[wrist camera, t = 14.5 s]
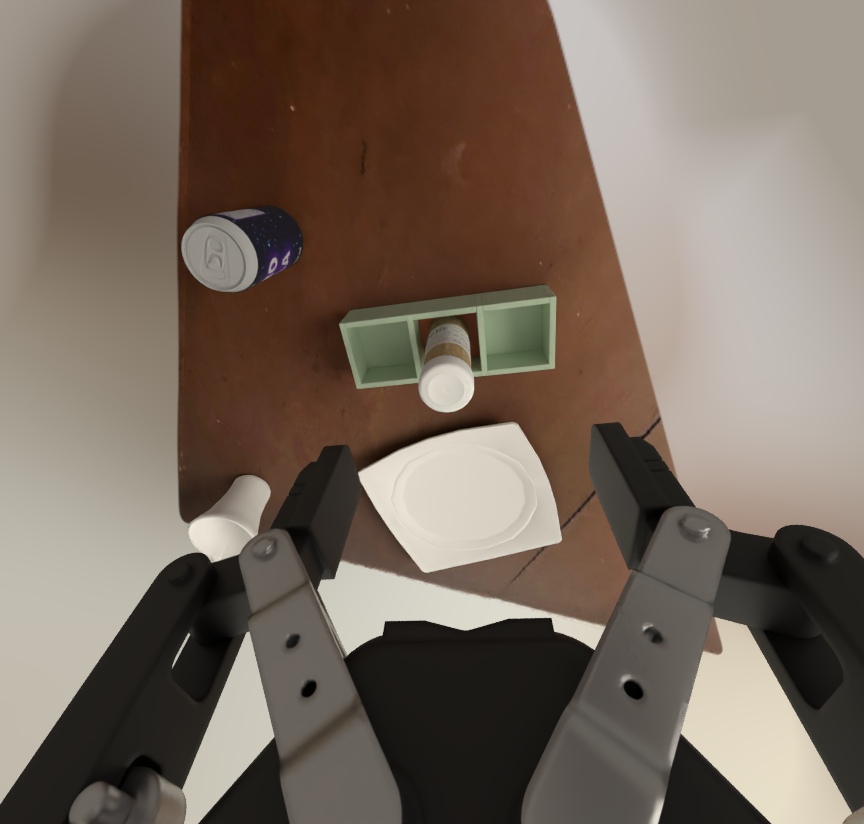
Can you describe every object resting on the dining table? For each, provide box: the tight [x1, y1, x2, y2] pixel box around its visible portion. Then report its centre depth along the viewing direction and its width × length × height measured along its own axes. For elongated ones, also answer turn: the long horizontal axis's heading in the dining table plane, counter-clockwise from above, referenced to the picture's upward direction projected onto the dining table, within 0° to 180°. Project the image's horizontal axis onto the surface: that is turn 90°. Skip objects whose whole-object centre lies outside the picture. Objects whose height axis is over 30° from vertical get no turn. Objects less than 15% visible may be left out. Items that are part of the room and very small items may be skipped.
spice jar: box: [419, 315, 474, 412], centre depth 37 cm, size 5×5×13 cm
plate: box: [358, 422, 562, 573], centre depth 55 cm, size 24×24×3 cm
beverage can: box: [181, 206, 303, 292], centre depth 34 cm, size 6×6×12 cm
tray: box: [339, 285, 556, 389], centre depth 41 cm, size 21×8×5 cm, turn 98°
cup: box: [187, 475, 271, 562], centre depth 54 cm, size 9×9×10 cm
